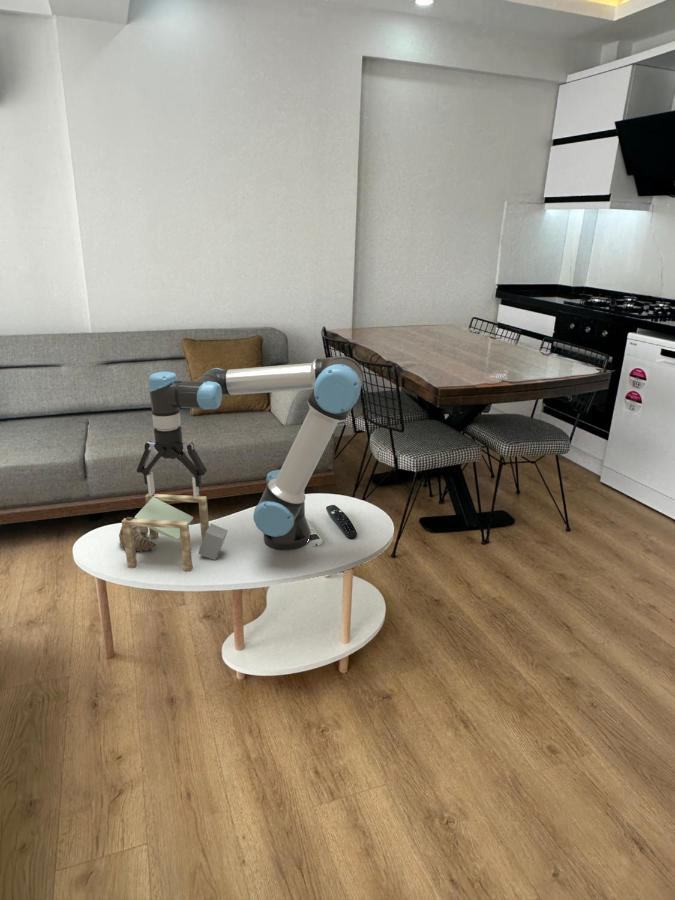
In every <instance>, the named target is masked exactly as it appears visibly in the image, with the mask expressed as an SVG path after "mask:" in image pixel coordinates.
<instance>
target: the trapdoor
mask: <svg viewBox="0 0 675 900" xmlns="http://www.w3.org/2000/svg"><path fill="white" fill-rule="evenodd" d="M133 519H148V520H167V521H186V522H189V525H190V524H191V522H192V521H193V520H194V516H192V515H190V514H188V513H186V512H184V511H182V510H180V509H179V508H176V507H174V506H172V505H170V504H169V503H166V502H165V501H160V500H158V499H156V498H155V497H152V498H151V499H150V501H149V502H148V503H147V504H146V503H145V505H144V506H143V507H141V509H140V510H139V511H138V513H136V514H135V516H134V517H133ZM139 527H142V526H139ZM149 528H150V529H152V530H154V531H156V532H158V534H160V535H162V536H165V537H167V538H168V539H171V540H172V541H174V542H178V541H179V539H181V537H180V528H165V527H148V529H149Z"/></svg>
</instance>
